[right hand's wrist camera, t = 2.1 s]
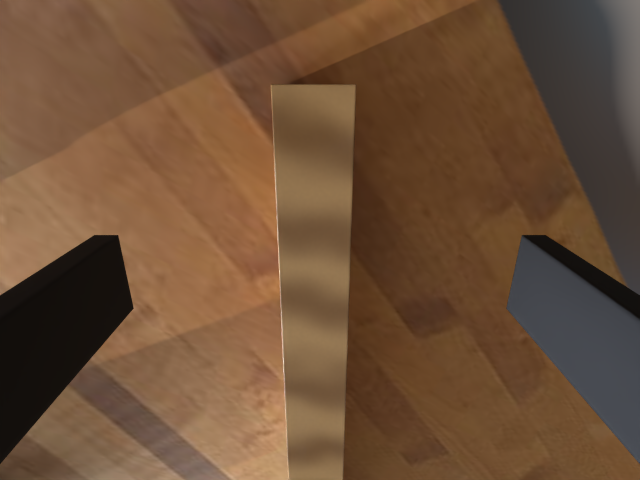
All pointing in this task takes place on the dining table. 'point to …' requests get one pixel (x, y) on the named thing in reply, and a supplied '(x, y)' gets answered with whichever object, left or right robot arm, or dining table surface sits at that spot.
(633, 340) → the right robot arm
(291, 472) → the beam
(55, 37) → the dining table surface
